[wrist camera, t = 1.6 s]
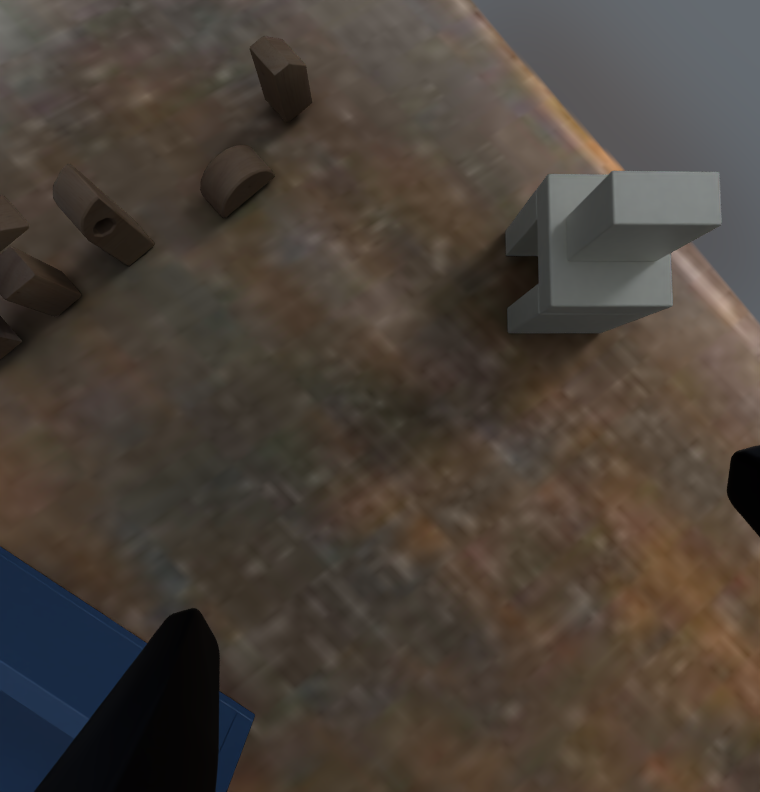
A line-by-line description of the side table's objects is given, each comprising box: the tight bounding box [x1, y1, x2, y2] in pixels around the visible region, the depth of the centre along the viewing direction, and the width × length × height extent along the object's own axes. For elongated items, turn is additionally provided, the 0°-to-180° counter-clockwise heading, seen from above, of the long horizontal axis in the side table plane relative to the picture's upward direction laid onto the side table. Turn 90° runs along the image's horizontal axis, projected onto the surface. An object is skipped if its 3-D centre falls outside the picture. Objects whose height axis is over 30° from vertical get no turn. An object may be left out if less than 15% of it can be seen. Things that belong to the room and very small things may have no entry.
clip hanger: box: [505, 171, 722, 333], centre depth 18 cm, size 5×4×8 cm
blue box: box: [0, 547, 255, 792], centre depth 18 cm, size 14×11×5 cm
